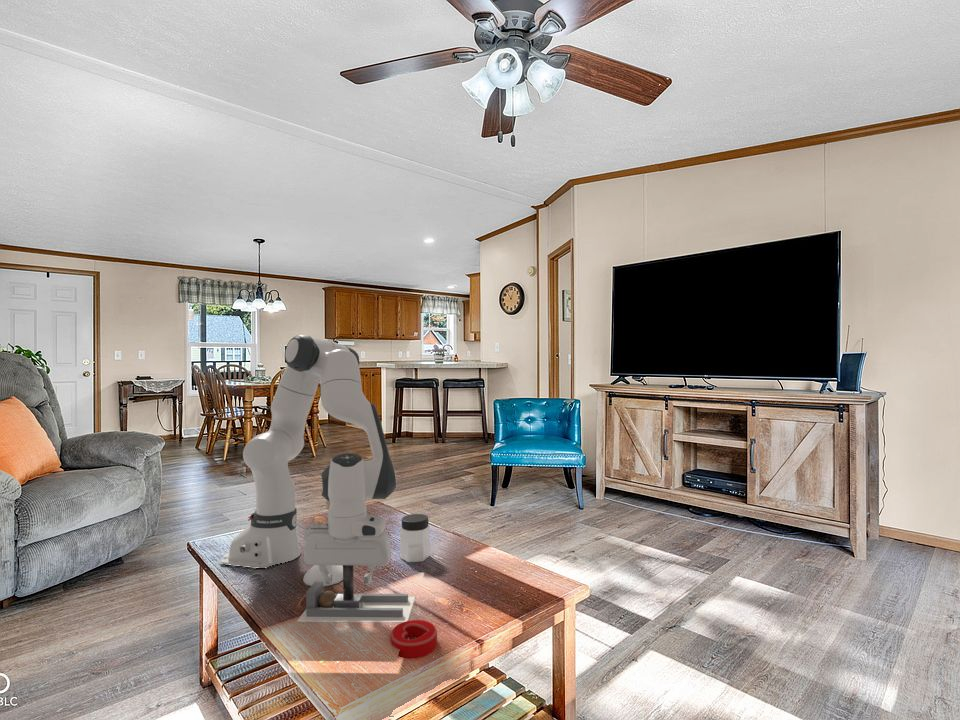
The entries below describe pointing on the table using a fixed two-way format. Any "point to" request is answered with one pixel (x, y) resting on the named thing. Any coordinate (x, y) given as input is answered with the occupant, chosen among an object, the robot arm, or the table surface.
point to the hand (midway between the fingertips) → (347, 582)
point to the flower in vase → (336, 570)
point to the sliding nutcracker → (371, 610)
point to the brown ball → (327, 599)
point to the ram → (348, 591)
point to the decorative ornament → (414, 647)
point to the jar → (415, 538)
